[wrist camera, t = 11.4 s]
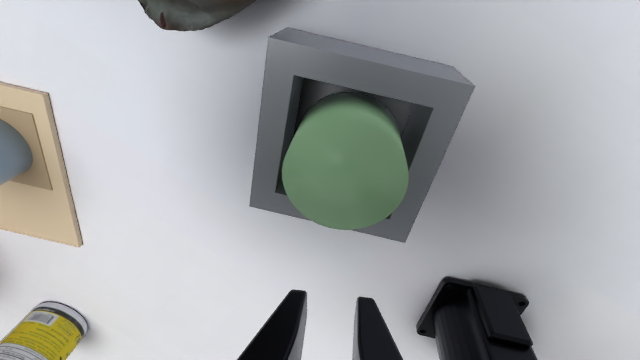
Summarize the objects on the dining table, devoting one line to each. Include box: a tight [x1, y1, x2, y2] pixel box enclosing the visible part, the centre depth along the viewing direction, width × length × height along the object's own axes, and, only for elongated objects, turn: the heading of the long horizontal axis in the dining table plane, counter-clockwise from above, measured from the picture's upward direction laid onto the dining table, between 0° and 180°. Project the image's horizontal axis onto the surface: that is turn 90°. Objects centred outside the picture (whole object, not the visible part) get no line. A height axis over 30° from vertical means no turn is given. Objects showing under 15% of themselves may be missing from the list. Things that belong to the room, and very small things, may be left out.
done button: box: [282, 92, 409, 230], centre depth 16 cm, size 5×5×4 cm
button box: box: [250, 28, 475, 242], centre depth 18 cm, size 9×9×4 cm
